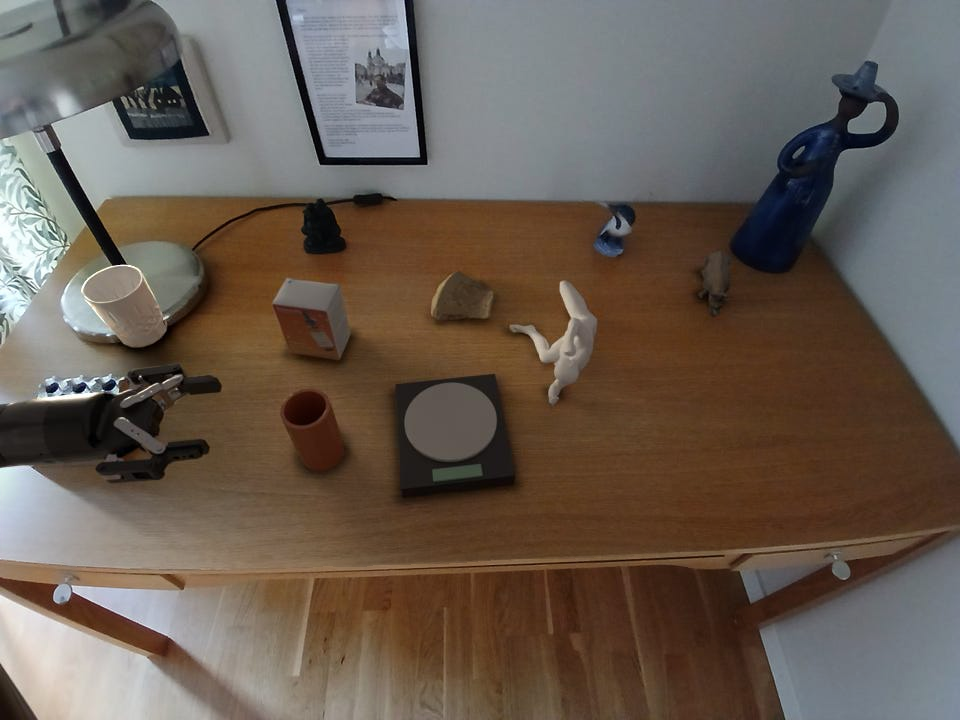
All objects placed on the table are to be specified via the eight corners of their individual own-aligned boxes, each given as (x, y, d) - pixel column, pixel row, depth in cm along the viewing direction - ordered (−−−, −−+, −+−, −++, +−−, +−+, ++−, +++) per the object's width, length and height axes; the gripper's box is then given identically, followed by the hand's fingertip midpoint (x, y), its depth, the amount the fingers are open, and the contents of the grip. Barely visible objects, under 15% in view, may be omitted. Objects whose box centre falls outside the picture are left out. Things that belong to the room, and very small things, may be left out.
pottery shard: (430, 326, 89) (488, 329, 85) (422, 305, 86) (483, 306, 82) (452, 285, 96) (507, 286, 92) (445, 264, 93) (502, 264, 90)
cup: (344, 468, 71) (329, 425, 63) (299, 473, 71) (277, 431, 63) (345, 430, 75) (330, 386, 67) (301, 435, 74) (282, 391, 66)
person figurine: (518, 266, 80) (572, 338, 67) (594, 265, 85) (659, 333, 71) (501, 339, 88) (547, 417, 75) (571, 335, 92) (626, 408, 79)
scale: (514, 484, 70) (515, 473, 68) (402, 498, 69) (400, 486, 66) (494, 384, 80) (495, 370, 78) (396, 394, 79) (394, 381, 76)
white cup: (109, 329, 86) (74, 280, 78) (160, 306, 89) (131, 257, 82) (127, 359, 82) (91, 311, 74) (179, 334, 85) (151, 286, 78)
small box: (289, 354, 83) (269, 303, 75) (302, 327, 87) (285, 276, 79) (340, 361, 82) (326, 311, 74) (352, 333, 86) (339, 283, 78)
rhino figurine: (695, 325, 88) (708, 297, 83) (697, 269, 96) (708, 241, 92) (722, 330, 87) (736, 302, 83) (721, 273, 96) (734, 246, 91)
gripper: (17, 470, 55) (189, 451, 56) (65, 359, 64) (212, 345, 65) (60, 503, 60) (215, 485, 62) (98, 397, 69) (233, 384, 71)
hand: (213, 413), depth 64 cm, fingers open, 8 cm apart
